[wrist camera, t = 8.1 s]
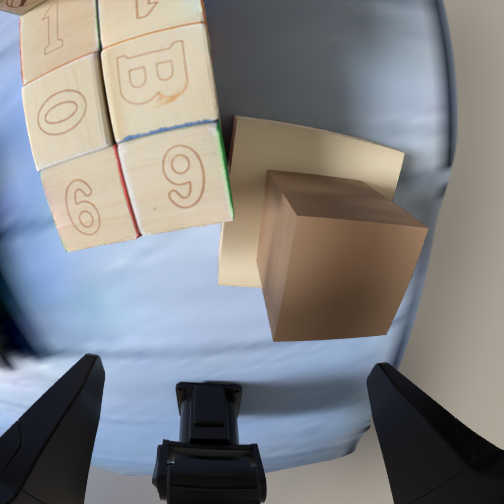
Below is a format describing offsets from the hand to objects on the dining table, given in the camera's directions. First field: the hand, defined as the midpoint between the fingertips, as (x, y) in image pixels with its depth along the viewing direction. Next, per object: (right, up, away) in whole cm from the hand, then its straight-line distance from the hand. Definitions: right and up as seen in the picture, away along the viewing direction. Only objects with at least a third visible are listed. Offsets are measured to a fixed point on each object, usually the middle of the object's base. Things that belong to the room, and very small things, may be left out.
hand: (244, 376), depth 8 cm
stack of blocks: (-6, +18, +3) cm, 19 cm away
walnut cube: (+3, +5, +7) cm, 9 cm away
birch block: (+3, +7, +10) cm, 13 cm away
